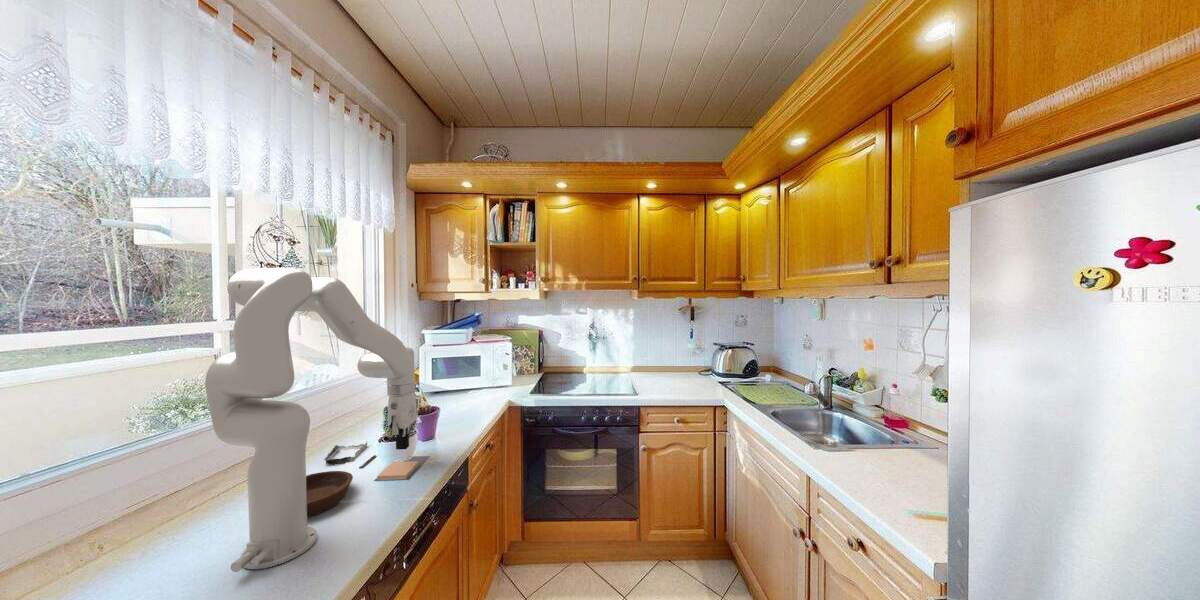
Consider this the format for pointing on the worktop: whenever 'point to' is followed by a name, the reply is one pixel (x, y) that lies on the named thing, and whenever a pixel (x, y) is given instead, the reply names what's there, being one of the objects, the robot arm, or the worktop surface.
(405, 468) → the tile
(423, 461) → the mat
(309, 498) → the dish
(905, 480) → the worktop surface
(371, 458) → the dark grey thin rod
